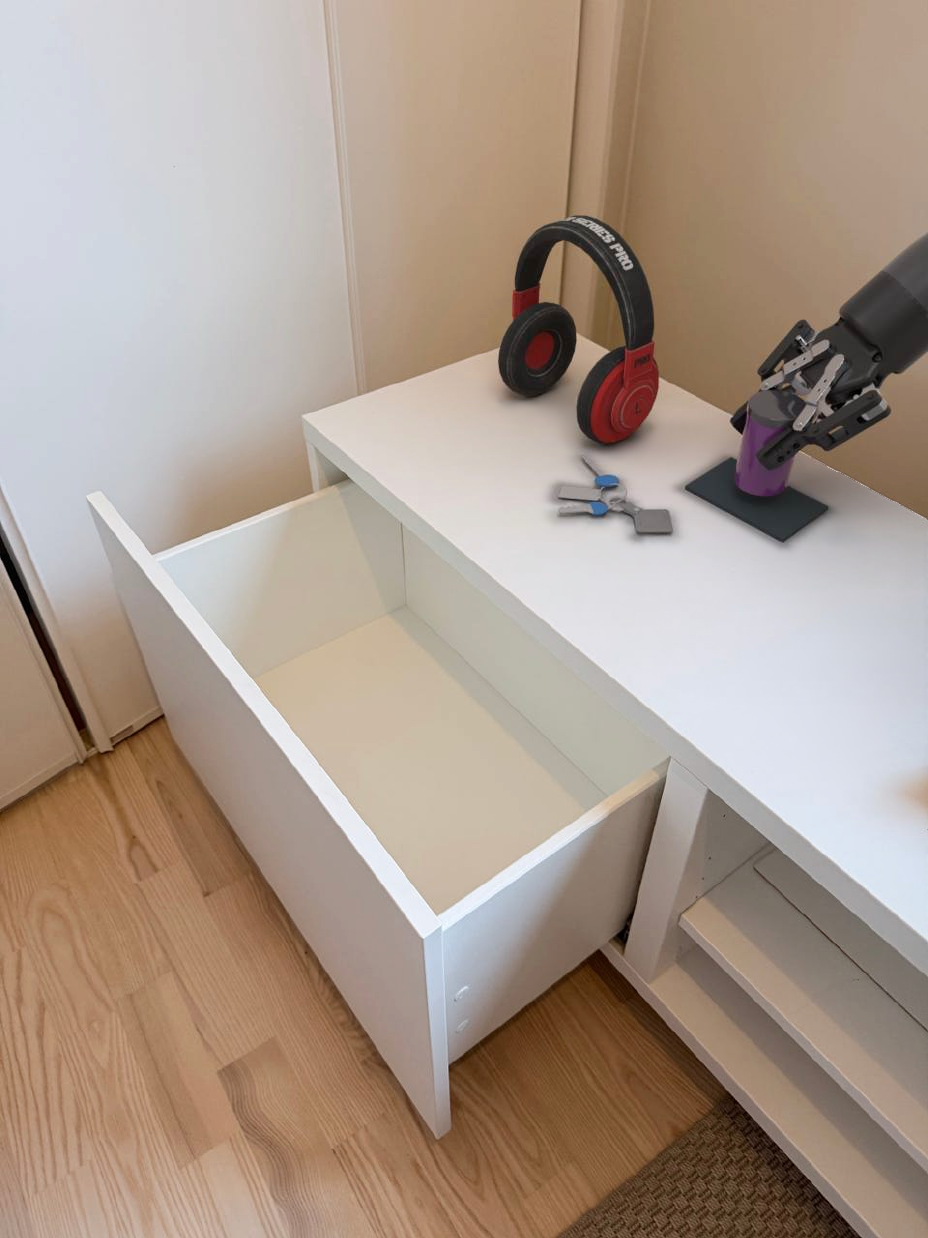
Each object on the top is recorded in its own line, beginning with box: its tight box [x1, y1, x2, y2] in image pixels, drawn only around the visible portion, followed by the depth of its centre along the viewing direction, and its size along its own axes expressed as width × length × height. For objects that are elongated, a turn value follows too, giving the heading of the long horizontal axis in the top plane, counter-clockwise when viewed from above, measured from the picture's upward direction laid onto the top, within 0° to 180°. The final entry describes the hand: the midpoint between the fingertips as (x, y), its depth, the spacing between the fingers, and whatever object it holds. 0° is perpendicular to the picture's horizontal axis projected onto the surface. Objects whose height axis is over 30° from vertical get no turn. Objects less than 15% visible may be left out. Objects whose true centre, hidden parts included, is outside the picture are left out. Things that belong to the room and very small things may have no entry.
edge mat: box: [684, 456, 830, 543], centre depth 87 cm, size 11×7×1 cm, turn 41°
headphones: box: [497, 214, 660, 445], centre depth 92 cm, size 18×10×20 cm, turn 37°
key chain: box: [557, 453, 674, 533], centre depth 87 cm, size 14×8×1 cm, turn 36°
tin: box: [734, 390, 806, 496], centre depth 83 cm, size 5×5×8 cm
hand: (749, 445), depth 83 cm, fingers closed on tin, 5 cm apart
